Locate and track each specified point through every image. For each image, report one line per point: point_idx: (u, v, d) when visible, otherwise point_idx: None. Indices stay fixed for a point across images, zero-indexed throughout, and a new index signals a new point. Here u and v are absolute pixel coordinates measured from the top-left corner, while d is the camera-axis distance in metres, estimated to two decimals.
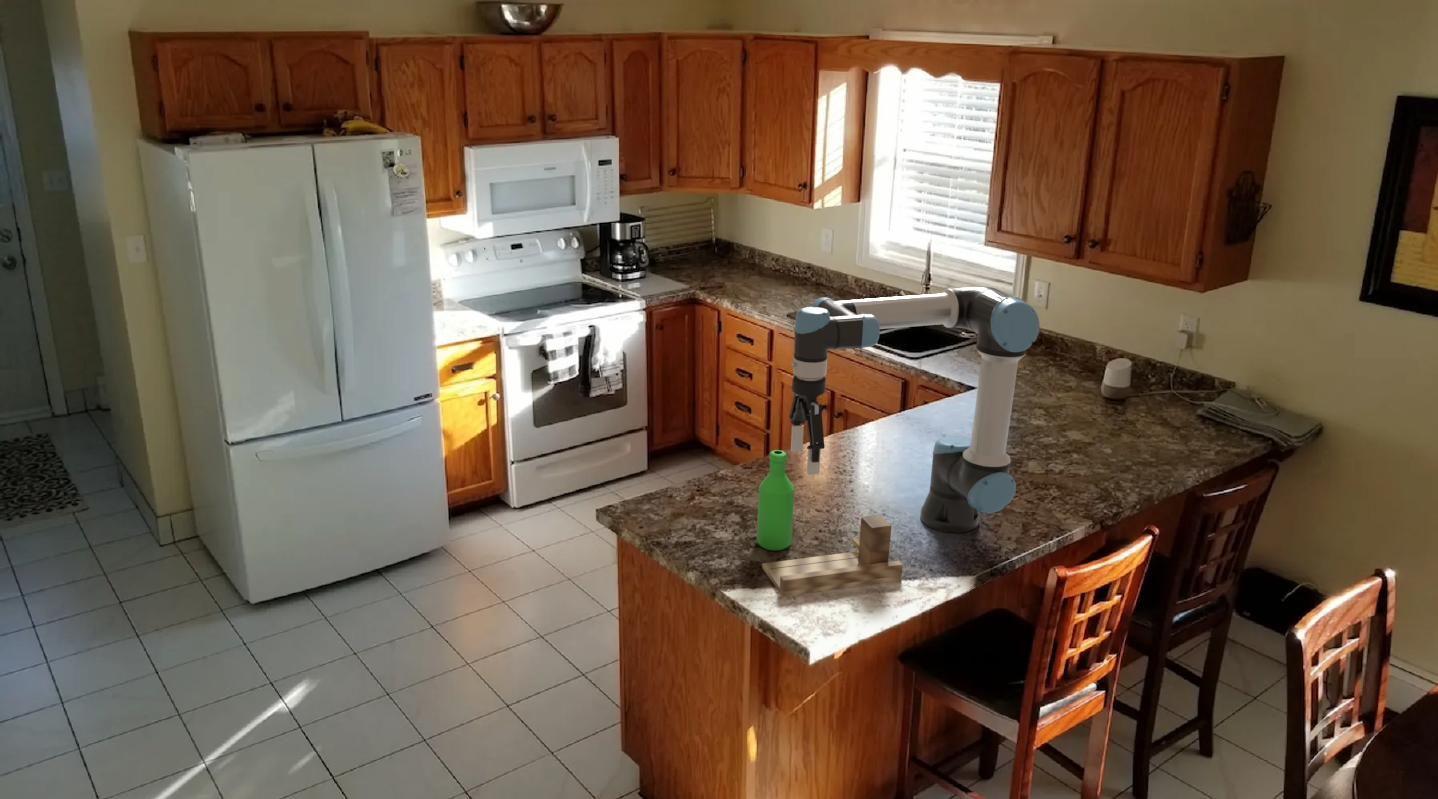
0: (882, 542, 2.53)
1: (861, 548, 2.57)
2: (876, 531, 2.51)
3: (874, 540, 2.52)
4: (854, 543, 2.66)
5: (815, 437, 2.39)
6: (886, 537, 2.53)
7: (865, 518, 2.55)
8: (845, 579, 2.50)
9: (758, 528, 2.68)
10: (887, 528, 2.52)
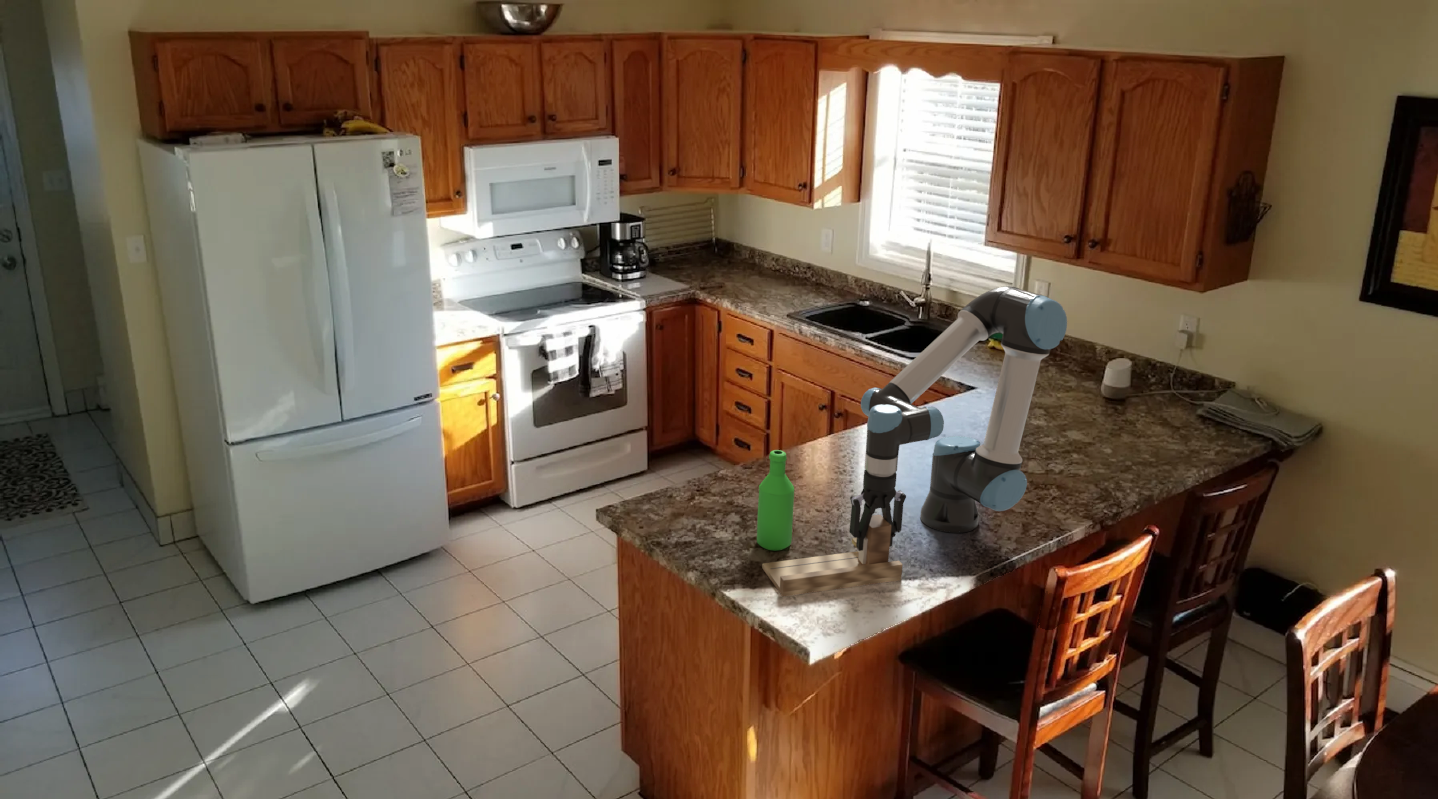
0: (882, 542, 2.53)
1: None
2: (876, 531, 2.51)
3: (874, 540, 2.52)
4: (854, 543, 2.66)
5: (851, 524, 2.53)
6: (886, 537, 2.53)
7: None
8: (845, 579, 2.50)
9: (758, 528, 2.68)
10: (887, 528, 2.52)
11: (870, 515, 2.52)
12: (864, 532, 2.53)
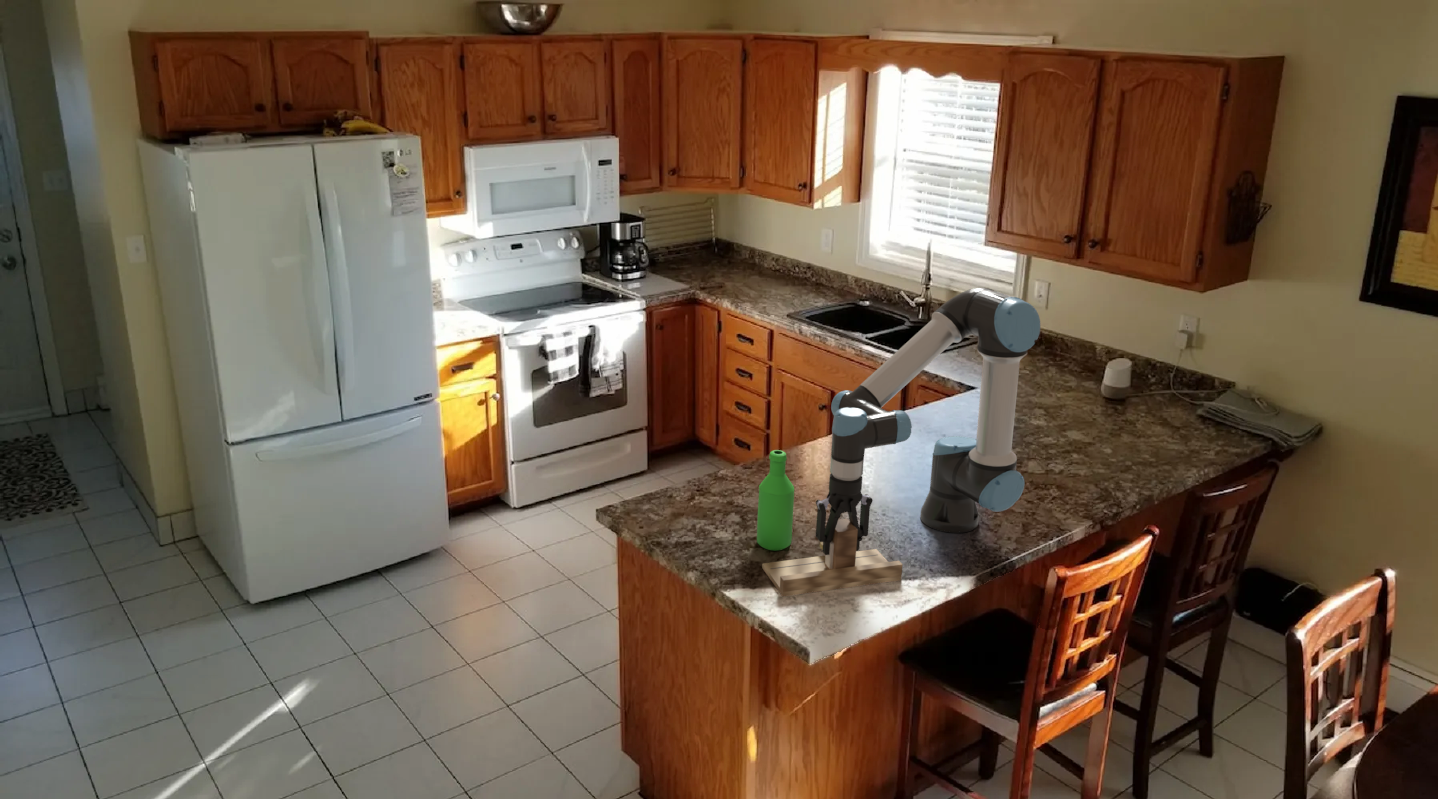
0: (849, 547, 2.50)
1: None
2: (842, 535, 2.49)
3: (840, 544, 2.50)
4: (822, 547, 2.63)
5: (816, 528, 2.51)
6: (853, 541, 2.50)
7: None
8: (845, 579, 2.50)
9: (758, 528, 2.68)
10: (853, 532, 2.50)
11: (836, 519, 2.49)
12: (830, 536, 2.50)
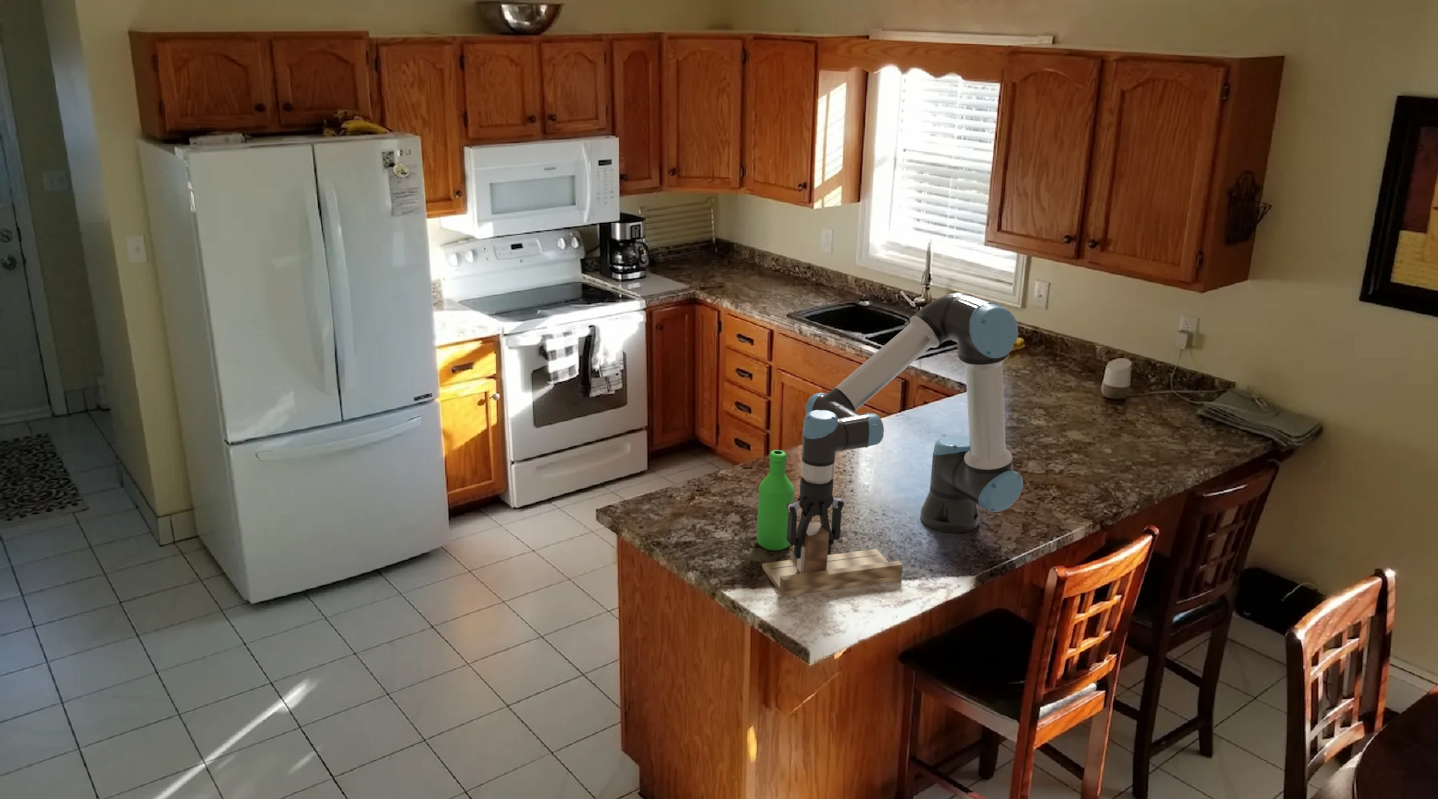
0: (820, 550, 2.48)
1: None
2: (813, 538, 2.47)
3: (811, 548, 2.47)
4: None
5: (787, 532, 2.48)
6: (824, 544, 2.48)
7: None
8: (845, 579, 2.50)
9: (758, 528, 2.68)
10: (824, 536, 2.47)
11: (807, 523, 2.47)
12: (801, 540, 2.48)
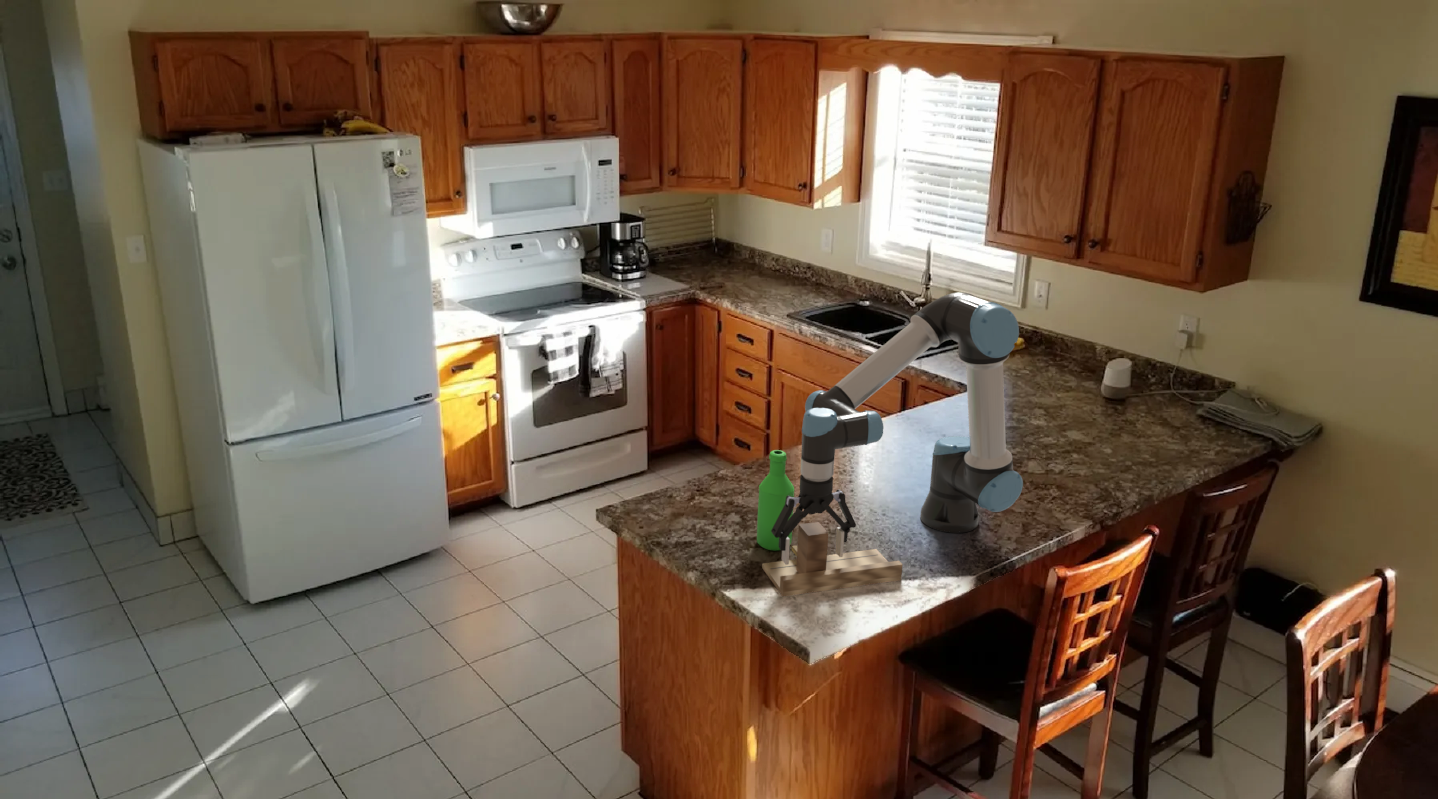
0: (819, 550, 2.48)
1: (799, 556, 2.53)
2: (813, 538, 2.47)
3: (811, 548, 2.47)
4: (794, 551, 2.61)
5: (776, 523, 2.47)
6: (823, 544, 2.48)
7: (802, 526, 2.51)
8: (845, 579, 2.50)
9: (758, 528, 2.68)
10: (824, 536, 2.47)
11: (800, 518, 2.46)
12: (787, 533, 2.46)
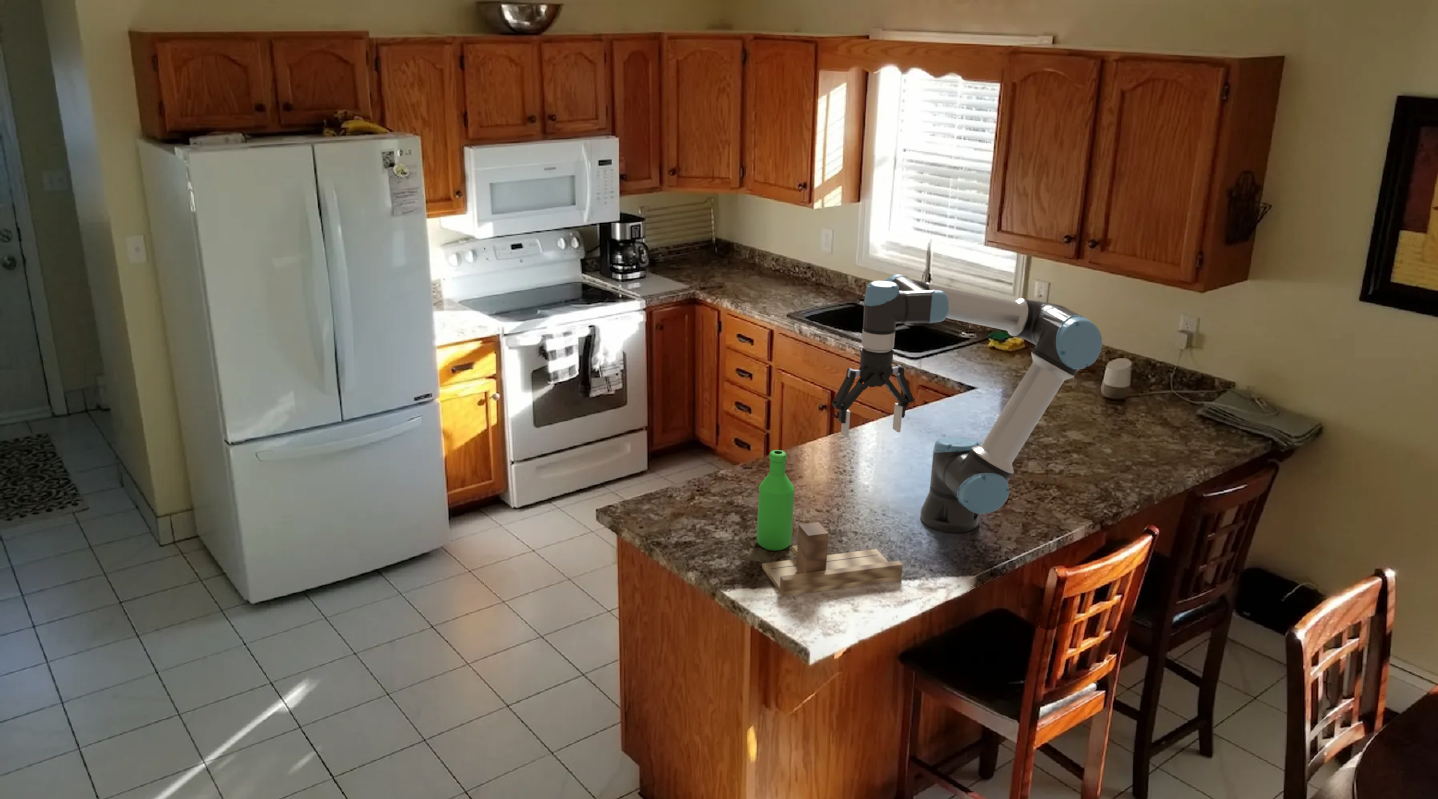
0: (819, 550, 2.48)
1: (799, 556, 2.53)
2: (813, 538, 2.47)
3: (811, 548, 2.47)
4: (794, 551, 2.61)
5: (836, 396, 2.52)
6: (823, 544, 2.48)
7: (802, 526, 2.51)
8: (845, 579, 2.50)
9: (758, 528, 2.68)
10: (824, 536, 2.47)
11: (861, 390, 2.52)
12: (848, 405, 2.52)
